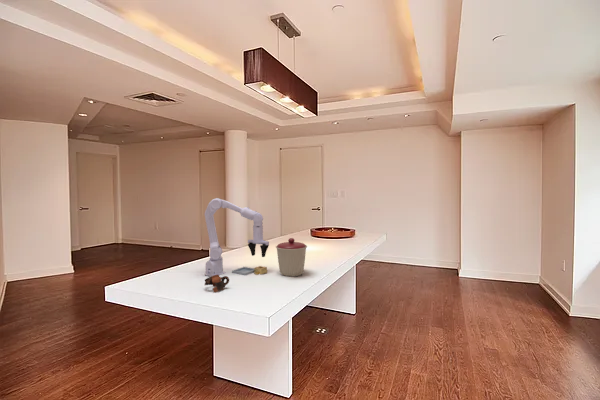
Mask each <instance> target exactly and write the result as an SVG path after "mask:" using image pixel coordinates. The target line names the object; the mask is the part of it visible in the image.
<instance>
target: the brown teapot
mask: <svg viewBox="0 0 600 400" xmlns="http://www.w3.org/2000/svg"><path fill="white" fill-rule="evenodd" d="M225 280H226V281H225ZM229 282H230V277H228V276H227V275H224V276H222V277H221V276H220V275H214V276H208V277H207V278H205V279H204V286H212V291H213V293H217V292H220V291H224V290H225V289H224V288H225V287H226V286H228V284H229Z"/></svg>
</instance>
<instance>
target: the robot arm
mask: <svg viewBox="0 0 600 400" xmlns="http://www.w3.org/2000/svg"><path fill="white" fill-rule="evenodd" d="M221 208H222V209H230V210H232V211H234V212H237V213H239V214H240V216H241V217H243V218H244V219H247V220H249V221H253V224H252V232H253V233H252V239H247V246H248V248H249V250H250V254H251V256H252V257H254V256H255V255H256V246H257V245H260V246H259V247H260V252H261V257H262V258H265V257H266V255H267V251H268V248H269V246H270V241H268V240H264V225H263V220H264V216H263V215H262V213H260V212H257V210H253V209H251V208H250V207H249V206H245V207H240V206H238V205H236V204H235V203H233V202H230V201H227V200H225V199H221V198H219V197H216V198H213V199H211V200H210V201H209V203H207V207H206V209H205V211H204V218H205V219H204V220H205V224H206V225H205V226H206V229H207V235H208V240H209V249H210V251H209V257H210V258H209V260H208V261H206V262H205V273H204V275H205V276H207V277H211V276H214V275H219V276H220V275H223V274H226V273H227V272H225V271H223V270H224V269H223V267H224V265H223V262H224V259H223V256H222V254H223V249H222V247H221V246H220V242H219V237H218V232H217V228H216V221H215V217H214V215H215V214H216V213H217V211H218V210H219V209H221Z"/></svg>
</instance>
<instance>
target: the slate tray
mask: <svg viewBox="0 0 600 400" xmlns="http://www.w3.org/2000/svg"><path fill="white" fill-rule="evenodd" d="M254 268H255V267H248V266H243V267H239V268H237V269H233V270H231V274H236V275H241V276H248V275H251V274H254Z"/></svg>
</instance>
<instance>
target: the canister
mask: <svg viewBox="0 0 600 400" xmlns="http://www.w3.org/2000/svg"><path fill="white" fill-rule="evenodd" d="M275 248H276V253H277V263H278V267H279V272H280V274H281V276H284V277H299V276H301V275H303V273H304V270H305V260H306V255H307V254H306V253H307V252H306V251H307V248H308V245H307V244H305V243H303V242H298V241H295V239H294V238H293V237H291V238H290V237H289V238H288V241H285V242H281V243H278V244H277V245H275Z"/></svg>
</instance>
